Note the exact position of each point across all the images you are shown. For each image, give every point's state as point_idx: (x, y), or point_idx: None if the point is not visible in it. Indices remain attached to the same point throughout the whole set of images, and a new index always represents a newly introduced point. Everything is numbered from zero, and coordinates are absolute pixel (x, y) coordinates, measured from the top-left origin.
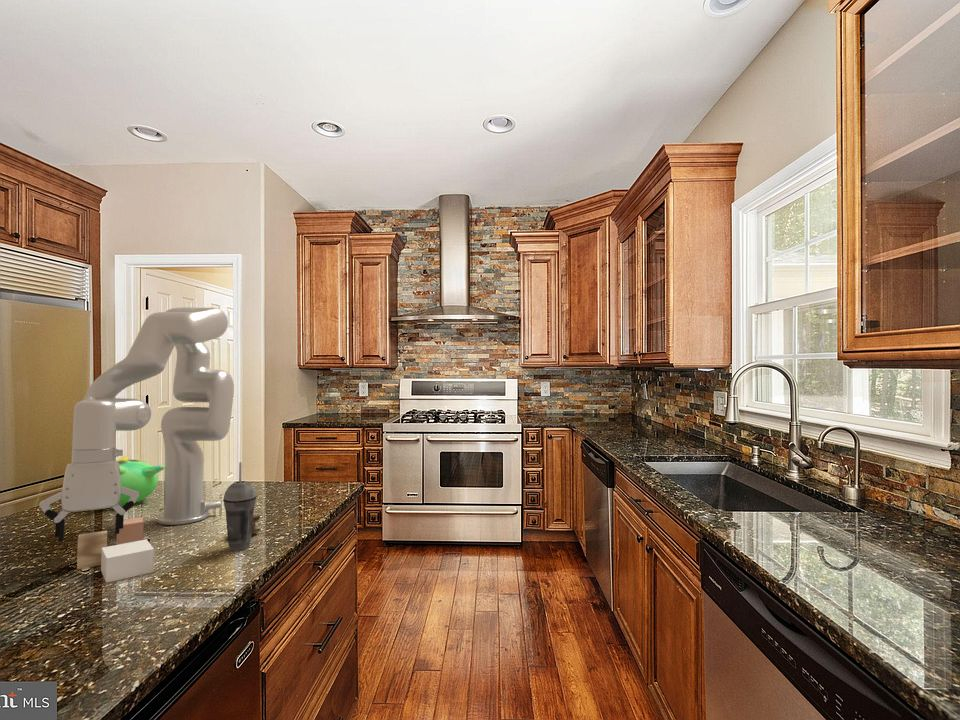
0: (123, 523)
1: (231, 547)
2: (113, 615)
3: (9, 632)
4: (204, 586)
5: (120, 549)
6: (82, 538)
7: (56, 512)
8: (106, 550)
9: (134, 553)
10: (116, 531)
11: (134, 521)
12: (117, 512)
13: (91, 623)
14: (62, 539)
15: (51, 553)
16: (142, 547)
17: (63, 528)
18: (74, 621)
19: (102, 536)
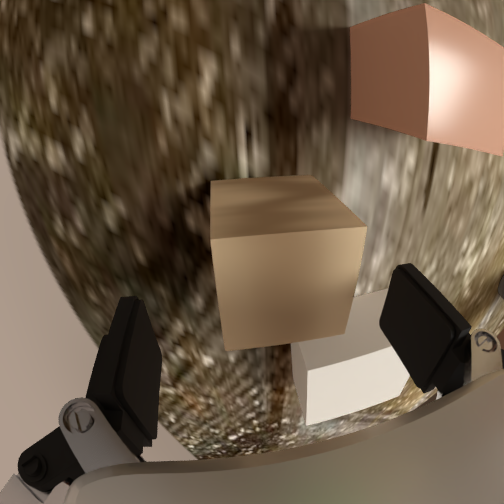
0: (451, 109)
1: (501, 292)
2: (289, 443)
3: (184, 446)
4: (394, 406)
5: (347, 391)
6: (242, 324)
7: (72, 465)
8: (315, 391)
9: (361, 407)
10: (386, 331)
11: (485, 111)
12: (440, 392)
13: (267, 449)
14: (159, 360)
15: (94, 4)
16: (389, 386)
17: (157, 412)
18: (250, 446)
19: (328, 326)
